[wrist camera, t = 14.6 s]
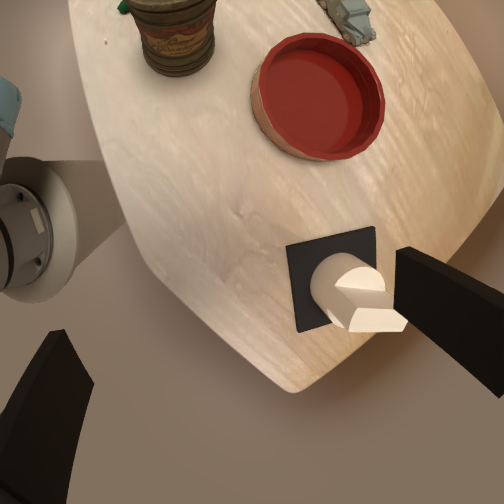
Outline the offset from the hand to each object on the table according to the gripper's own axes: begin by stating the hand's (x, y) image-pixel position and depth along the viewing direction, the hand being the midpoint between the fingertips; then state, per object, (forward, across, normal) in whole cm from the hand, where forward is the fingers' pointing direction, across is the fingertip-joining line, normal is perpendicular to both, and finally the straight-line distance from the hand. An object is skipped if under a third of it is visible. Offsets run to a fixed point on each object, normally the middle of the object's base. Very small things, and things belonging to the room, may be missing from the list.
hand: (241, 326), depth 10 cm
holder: (+27, +17, -14) cm, 35 cm away
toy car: (+28, +25, +26) cm, 45 cm away
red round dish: (+27, +16, +12) cm, 34 cm away
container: (+28, 0, +22) cm, 35 cm away
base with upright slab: (+26, +17, -14) cm, 34 cm away
